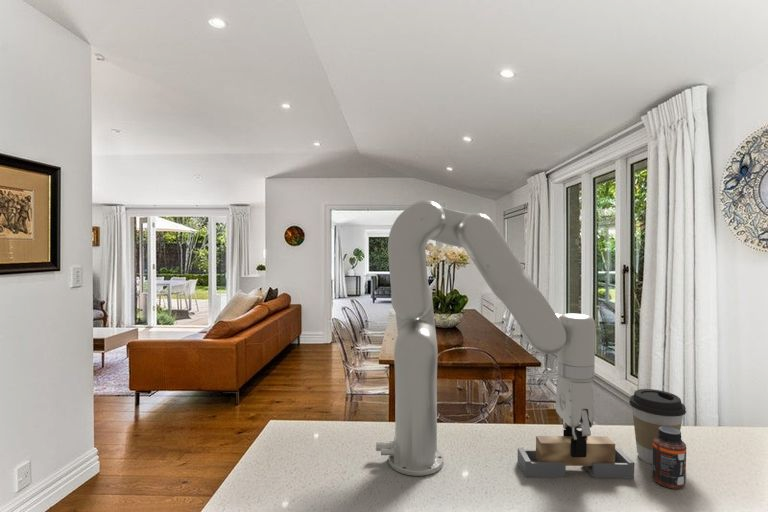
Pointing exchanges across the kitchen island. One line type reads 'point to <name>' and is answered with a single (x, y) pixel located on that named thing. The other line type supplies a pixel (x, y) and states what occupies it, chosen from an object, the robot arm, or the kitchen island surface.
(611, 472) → the cap
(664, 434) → the supplement bottle
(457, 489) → the kitchen island surface
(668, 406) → the coffee cup
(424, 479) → the kitchen island surface
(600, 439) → the light wood rectangular block
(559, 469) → the cap
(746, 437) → the kitchen island surface
